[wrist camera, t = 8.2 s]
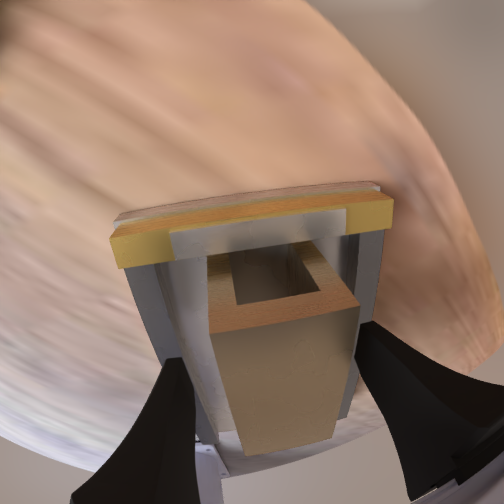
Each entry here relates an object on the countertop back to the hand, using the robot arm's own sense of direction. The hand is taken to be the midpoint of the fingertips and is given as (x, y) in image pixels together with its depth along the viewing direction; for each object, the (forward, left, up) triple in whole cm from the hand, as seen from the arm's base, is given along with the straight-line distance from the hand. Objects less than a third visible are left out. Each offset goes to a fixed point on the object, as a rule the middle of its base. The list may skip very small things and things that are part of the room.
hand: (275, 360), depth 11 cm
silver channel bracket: (-2, 0, -4) cm, 4 cm away
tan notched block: (0, 0, -3) cm, 3 cm away
